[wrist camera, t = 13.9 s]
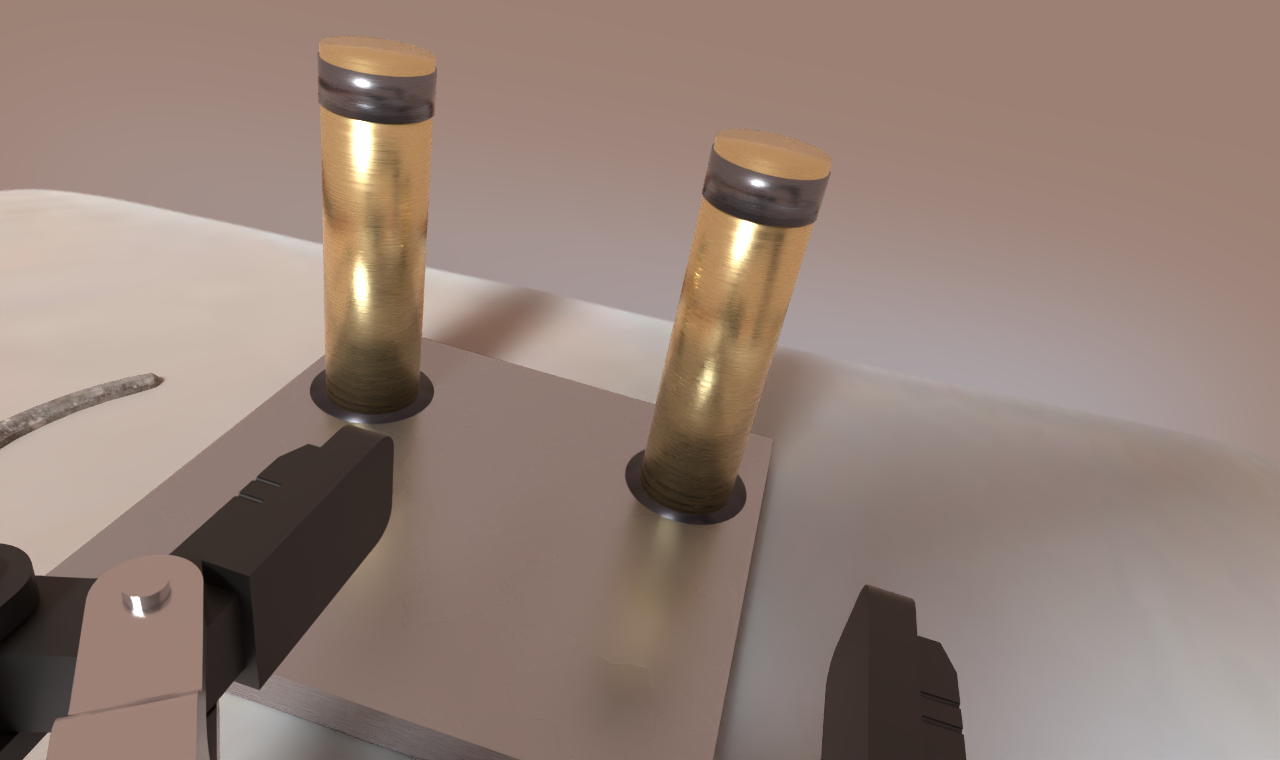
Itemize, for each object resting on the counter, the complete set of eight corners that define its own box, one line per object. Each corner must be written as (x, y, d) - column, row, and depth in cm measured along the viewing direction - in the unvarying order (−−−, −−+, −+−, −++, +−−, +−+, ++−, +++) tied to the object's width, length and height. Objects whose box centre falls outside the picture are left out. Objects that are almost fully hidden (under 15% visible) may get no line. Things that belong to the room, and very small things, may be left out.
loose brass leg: (738, 470, 28) (836, 148, 22) (724, 527, 25) (831, 178, 20) (650, 444, 28) (724, 120, 23) (627, 497, 26) (705, 147, 20)
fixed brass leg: (436, 380, 29) (456, 55, 24) (392, 425, 27) (404, 71, 21) (355, 356, 30) (356, 30, 24) (305, 399, 27) (292, 43, 21)
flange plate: (765, 465, 31) (773, 438, 30) (689, 854, 18) (701, 822, 17) (366, 348, 32) (366, 321, 32) (38, 625, 20) (28, 588, 19)
